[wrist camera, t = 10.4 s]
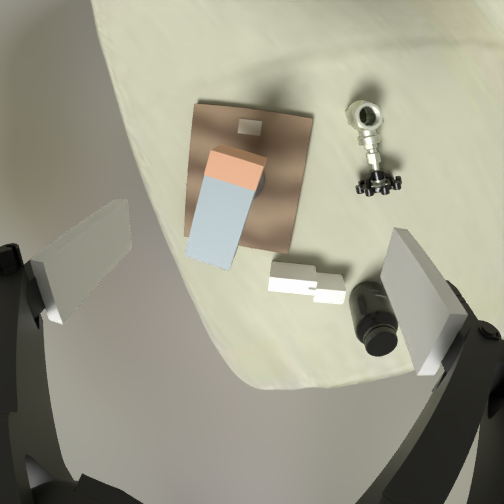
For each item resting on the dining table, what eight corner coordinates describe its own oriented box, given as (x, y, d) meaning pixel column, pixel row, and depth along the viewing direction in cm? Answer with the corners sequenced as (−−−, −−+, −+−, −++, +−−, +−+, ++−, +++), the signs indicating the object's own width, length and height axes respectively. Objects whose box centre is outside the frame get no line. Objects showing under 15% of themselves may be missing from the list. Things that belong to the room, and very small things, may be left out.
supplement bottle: (385, 276, 47) (406, 321, 36) (386, 309, 49) (404, 356, 39) (345, 284, 48) (357, 332, 38) (349, 316, 51) (359, 366, 40)
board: (196, 103, 39) (173, 102, 30) (312, 118, 38) (318, 120, 30) (186, 233, 48) (165, 260, 39) (287, 250, 47) (286, 282, 39)
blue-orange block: (200, 231, 37) (184, 255, 31) (225, 142, 32) (210, 150, 26) (239, 244, 37) (229, 271, 31) (268, 156, 32) (263, 166, 26)
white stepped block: (250, 269, 50) (245, 288, 44) (300, 221, 45) (302, 236, 40) (313, 321, 53) (314, 342, 48) (363, 282, 48) (370, 302, 43)
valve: (331, 106, 37) (352, 187, 42) (338, 104, 31) (362, 200, 36) (375, 97, 35) (394, 177, 40) (390, 95, 29) (410, 189, 34)
